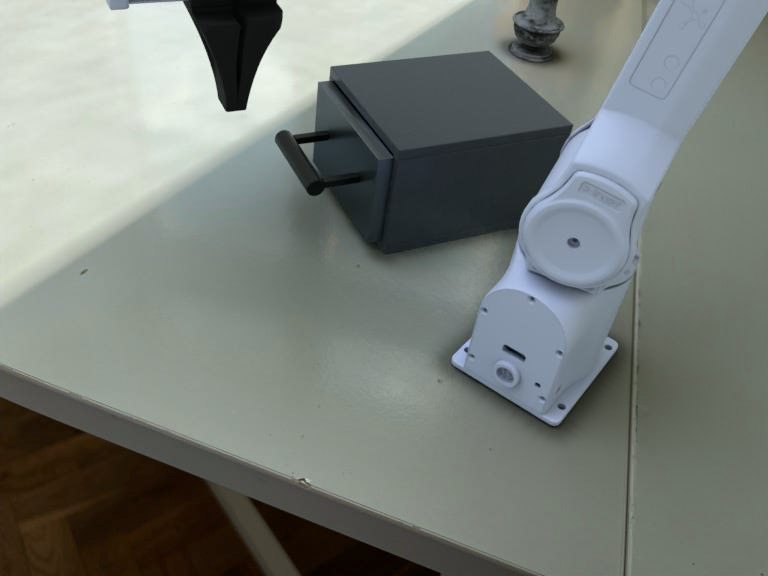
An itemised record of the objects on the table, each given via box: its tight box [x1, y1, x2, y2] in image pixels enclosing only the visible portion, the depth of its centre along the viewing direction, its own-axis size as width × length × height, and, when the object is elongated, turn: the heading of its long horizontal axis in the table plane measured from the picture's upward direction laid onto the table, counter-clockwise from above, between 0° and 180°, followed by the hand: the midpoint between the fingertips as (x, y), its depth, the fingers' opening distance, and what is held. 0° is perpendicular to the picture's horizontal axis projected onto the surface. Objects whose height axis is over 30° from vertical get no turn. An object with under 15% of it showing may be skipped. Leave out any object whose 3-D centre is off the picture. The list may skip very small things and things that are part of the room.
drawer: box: [274, 80, 394, 244], centre depth 61 cm, size 18×11×7 cm, turn 115°
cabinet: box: [328, 50, 574, 255], centre depth 63 cm, size 15×13×9 cm
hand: (232, 103), depth 52 cm, fingers closed
